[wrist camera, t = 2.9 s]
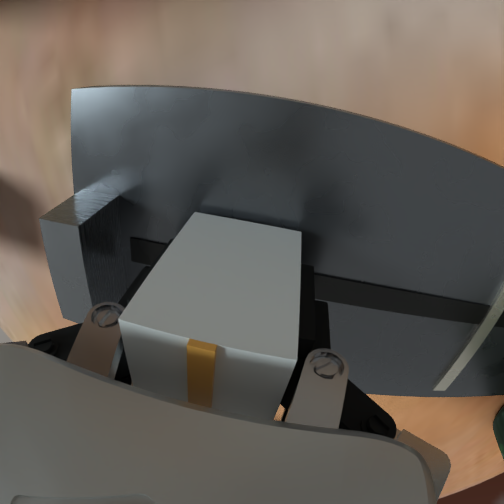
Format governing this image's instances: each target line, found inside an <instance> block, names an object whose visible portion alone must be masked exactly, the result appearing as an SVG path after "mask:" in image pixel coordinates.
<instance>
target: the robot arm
mask: <svg viewBox="0 0 504 504" xmlns="http://www.w3.org/2000/svg"><path fill="white" fill-rule="evenodd" d="M173 240H174V239H170V241H169V242H168V243H167V245H166V246H165V247H164V249H163V250H162V251H161V253H160V254H159V255H158V257H157V258H156V259H155V261H154V262H153V263H152V265H151V266H145V267H144V268H143V269H142V270H141V272H140V273H139V274H138V276H137V277H136V278H135V280H134V281H133V282H132V284H131V285H130V287H129V288H128V289H127V291H126V292H125V293H124V295H123V296H122V298H121V299H120V300H119V302H118V303H114V302H103V303H99V304H97V305H95V306H94V307H92V308H91V309H90V310H89V312H88V313H87V316H86V318H85V320H84V322H83V323H80V324H76V325H73V326H69V327H66V328H62V329H59V330H55V331H52V332H48V333H45V334H41V335H39V336H36V337H35V338H34V339H32V340H31V342H30V343H29V344H27V342H26V341H20V342H9V343H0V504H437V500H438V498H439V495H440V493H441V491H442V489H443V486H444V484H445V482H446V479H447V477H448V474H449V472H450V467H451V464H450V459H449V458H448V456H447V454H445V453H444V452H443V451H441V450H440V449H438V448H436V447H434V446H432V445H431V444H429V443H427V442H425V441H424V440H422V439H420V438H418V437H417V436H415V435H413V434H411V433H410V432H408V431H406V430H405V429H403V430H402V431H400V430H398V429H397V428H396V424H395V422H394V420H393V419H392V417H391V416H390V415H389V414H388V413H387V412H385V411H384V410H383V409H382V408H381V407H380V406H379V405H377V404H376V403H375V402H374V401H373V400H372V399H371V398H369V397H368V396H367V395H366V394H365V393H364V392H363V391H361V390H360V389H359V388H358V387H357V386H356V385H355V384H353V383H352V382H351V381H350V380H349V379H348V373H349V366H348V363H347V361H346V360H345V358H344V357H343V356H342V355H341V354H339V353H338V352H336V351H333V350H331V344H330V326H329V311H328V303H327V302H324V301H319V300H315V284H314V266H311V265H306V264H301V282H300V312H299V335H298V355H297V362H296V365H295V367H294V370H293V372H292V375H291V377H290V380H289V383H288V385H287V388H286V390H285V393H284V395H283V397H282V400H281V402H280V404H281V405H282V406H283V407H284V408H285V409H284V412H283V414H282V417H281V420H280V421H275V420H269V419H263V418H258V417H252V416H247V415H242V414H237V413H232V412H227V411H223V410H218V409H214V408H209V407H205V406H201V405H197V404H193V403H189V402H185V401H181V400H178V399H174V398H170V397H167V396H163V395H160V394H157V393H153V392H150V391H147V390H144V389H141V388H137V387H134V386H133V383H132V379H131V375H130V371H129V367H128V363H127V359H126V354H125V350H124V345H123V340H122V336H121V331H120V326H119V320H118V319H119V317H120V316H121V314H122V313H123V311H124V310H125V308H126V307H127V305H128V304H129V302H130V301H131V299H132V298H133V296H134V295H135V293H136V292H137V290H138V289H139V288H140V286H141V285H142V283H143V282H144V280H145V279H146V278H147V276H148V275H149V273H150V272H151V270H152V269H153V268H154V266H155V265H156V263H157V262H158V261H159V259H160V258H161V256H162V255H163V254H164V252H165V251H166V250H167V248H168V247H169V245H170V244H171V243H172V241H173Z"/></svg>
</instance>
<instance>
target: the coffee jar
mask: <svg viewBox="0 0 504 504" xmlns="http://www.w3.org/2000/svg"><path fill="white" fill-rule="evenodd" d="M493 430H494V434H495V437H496V440H497V443H498V446H499V449H500V451H501V454H502V456H503V459H504V406H503V407H502V409H501V410H500V411H499V413H498V414H497V415H496V417H495V419H494V421H493Z"/></svg>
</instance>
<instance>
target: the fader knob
mask: <svg viewBox="0 0 504 504" xmlns="http://www.w3.org/2000/svg"><path fill="white" fill-rule="evenodd" d="M300 282H301V232H300V231H295V230H290V229H285V228H279V227H274V226H269V225H264V224H258V223H253V222H248V221H242V220H237V219H232V218H226V217H221V216H215V215H209V214H204V213H198V212H194V213H193V215H192V216H191V217H190V219H189V220H188V221H187V223H186V224H185V225H184V227H183V228H182V229H181V231H180V232H179V233H178V235H177V236H176V237H175V239H174V240H173V241H172V243H171V244H170V245H169V247H168V248H167V250H166V251H165V252H164V254H163V255H162V256H161V258H160V259H159V261H158V262H157V263H156V265H155V266H154V268H153V269H152V270H151V272H150V273H149V275H148V276H147V278H146V279H145V280H144V282H143V283H142V285H141V286H140V288H139V289H138V290H137V292H136V293H135V295H134V296H133V298H132V299H131V301H130V302H129V304H128V305H127V307H126V308H125V310H124V311H123V313H122V314H121V316H120V317H119V319H118V320H119V326H120V331H121V336H122V340H123V345H124V350H125V354H126V359H127V363H128V367H129V371H130V375H131V379H132V383H133V386H134V387H137V388H141V389H144V390H147V391H150V392H153V393H157V394H160V395H163V396H167V397H170V398H174V399H178V400H181V401H185V402H189V403H193V404H197V405H201V406H205V407H209V408H214V409H218V410H223V411H227V412H232V413H237V414H242V415H247V416H252V417H258V418H263V419H269V420H273V419H274V417H275V414H276V412H277V410H278V407H279V405H280V402H281V400H282V397H283V395H284V393H285V390H286V388H287V385H288V383H289V380H290V377H291V375H292V372H293V370H294V367H295V365H296V362H297V355H298V335H299V312H300Z"/></svg>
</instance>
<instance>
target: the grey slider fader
mask: <svg viewBox="0 0 504 504" xmlns="http://www.w3.org/2000/svg"><path fill="white" fill-rule="evenodd" d="M71 151H72V171H73V185H74V195H73V196H72V197H70V198H69V199H67V200H66V201H64V202H62V203H61V204H59V205H58V206H57V207H55V208H54V209H52V210H51V211H49V212H48V213H46V214H45V215H43V216H42V217H41V218H39V221H40V226H41V232H42V237H43V242H44V247H45V251H46V256H47V260H48V265H49V269H50V273H51V277H52V281H53V284H54V288H55V292H56V295H57V299H58V302H59V305H60V309H61V312H62V315H63V318H65V319H68V320H70V321H73V322H76V323H79V324H80V323H83V322H84V320H85V318H86V316H87V313H88V312H89V310H90V309H91V308H92V307H94V306H95V305H97V304H99V303H103V302H114V303H118V302H119V300H120V299H121V298H122V296H123V295H124V293H125V292H126V291H127V289H128V288H129V287H130V285H131V284H132V282H133V281H134V280H135V278H136V277H137V276H138V274H139V273H140V272H141V270H142V269H143V268H144V267H145V266H151V265H152V263H153V262H154V261H155V259H156V258H157V257H158V255H159V254H160V253H161V251H162V250H163V249H164V247H165V246H166V245H167V243H168V242H169V241H170V239H175V237H176V236H177V235H178V233H179V232H180V231H181V229H182V228H183V227H184V225H185V224H186V223H187V221H188V220H189V219H190V217H191V216H192V215H193V213H194V212H198V213H204V214H209V215H215V216H221V217H226V218H232V219H237V220H242V221H248V222H253V223H258V224H264V225H269V226H274V227H279V228H285V229H290V230H295V231H300V232H301V264H306V265H311V266H314V284H315V300H319V301H324V302H327V303H328V311H329V326H330V344H331V350H333V351H336V352H338V353H339V354H341V355H342V356H343V357H344V358H345V360H346V361H347V363H348V366H349V373H348V379H349V380H350V381H351V382H352V383H353V384H355V385H356V386H357V387H358V388H359V389H360V390H361V391H363V392H364V393H365V394H377V395H393V396H417V397H471V396H493V395H504V167H503V166H501V165H499V164H496V163H494V162H492V161H490V160H488V159H486V158H483V157H481V156H479V155H477V154H474V153H472V152H470V151H467V150H465V149H462V148H460V147H457V146H455V145H452V144H450V143H447V142H445V141H442V140H439V139H437V138H434V137H431V136H428V135H426V134H423V133H420V132H417V131H414V130H411V129H408V128H405V127H402V126H399V125H395V124H392V123H389V122H386V121H382V120H379V119H375V118H372V117H368V116H364V115H361V114H357V113H353V112H349V111H345V110H341V109H336V108H332V107H328V106H323V105H319V104H314V103H309V102H304V101H299V100H293V99H288V98H282V97H276V96H269V95H263V94H256V93H249V92H241V91H232V90H223V89H212V88H200V87H185V86H163V85H110V86H90V87H83V88H76V89H72V95H71Z"/></svg>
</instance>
